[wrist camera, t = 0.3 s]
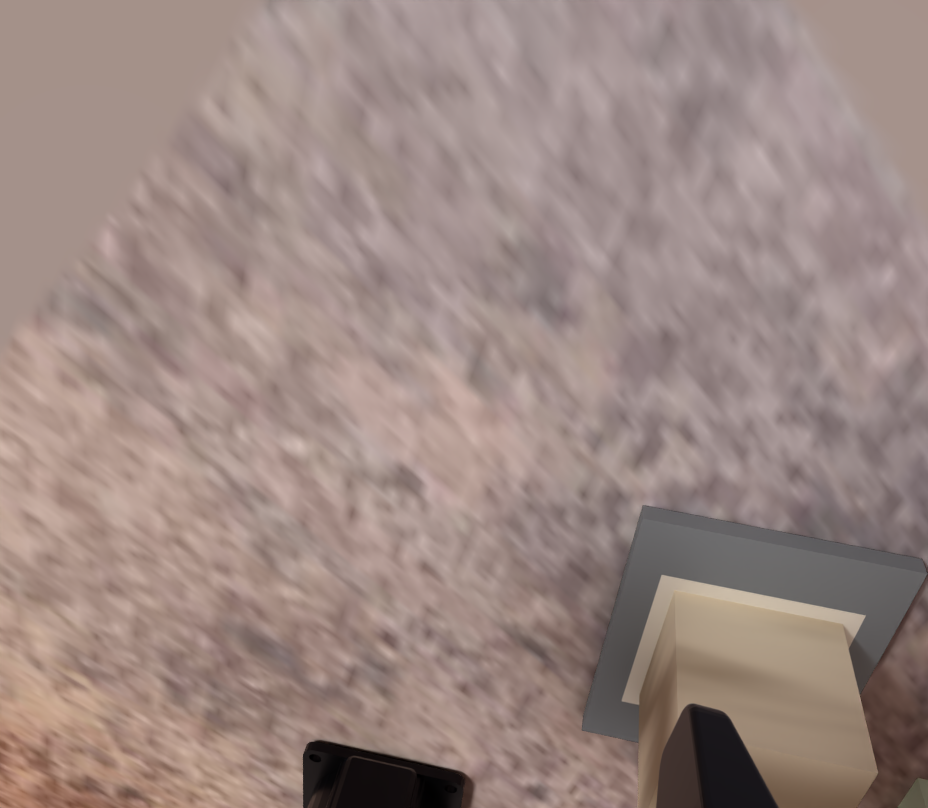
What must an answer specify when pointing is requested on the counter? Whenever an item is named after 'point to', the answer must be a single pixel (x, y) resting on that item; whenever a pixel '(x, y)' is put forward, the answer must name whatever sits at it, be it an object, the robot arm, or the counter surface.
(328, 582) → the counter surface
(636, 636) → the grey base plate
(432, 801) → the robot arm
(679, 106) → the counter surface
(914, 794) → the green block
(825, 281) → the counter surface
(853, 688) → the maple block
